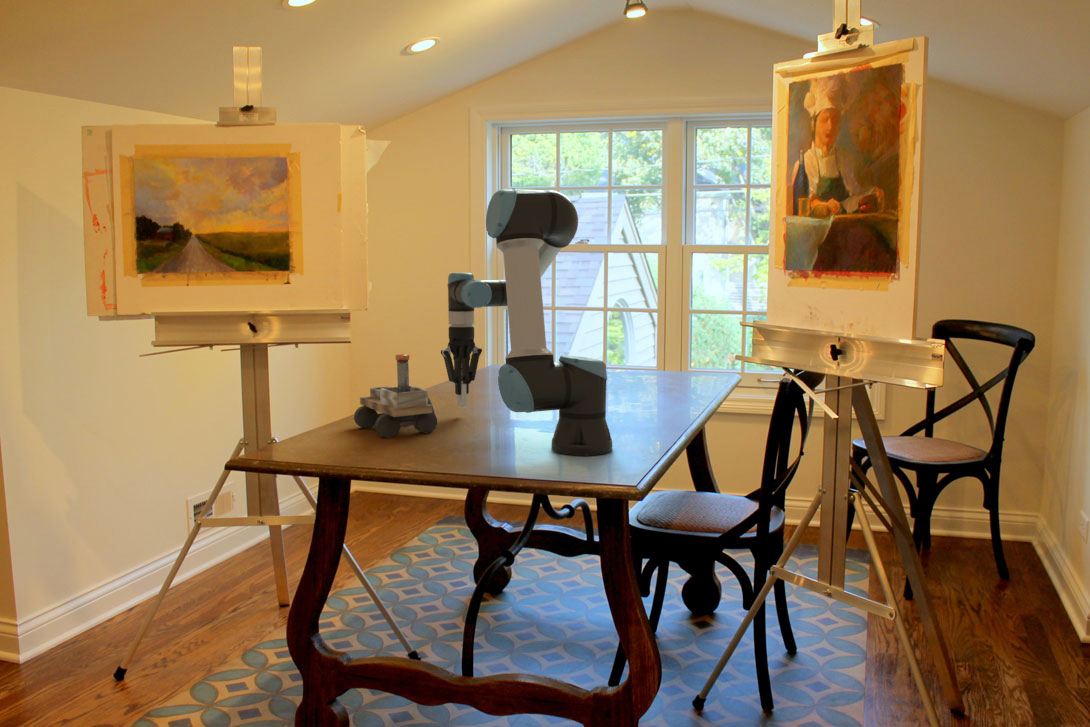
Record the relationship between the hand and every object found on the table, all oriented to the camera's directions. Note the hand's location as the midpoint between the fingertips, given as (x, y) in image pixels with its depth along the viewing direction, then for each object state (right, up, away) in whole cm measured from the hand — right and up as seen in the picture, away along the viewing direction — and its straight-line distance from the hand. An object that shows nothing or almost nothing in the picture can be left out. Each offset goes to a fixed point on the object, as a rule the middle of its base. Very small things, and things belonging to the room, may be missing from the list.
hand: (462, 405), depth 259 cm
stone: (-12, -4, -4) cm, 13 cm away
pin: (-13, +2, -25) cm, 28 cm away
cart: (-16, -6, -19) cm, 26 cm away
